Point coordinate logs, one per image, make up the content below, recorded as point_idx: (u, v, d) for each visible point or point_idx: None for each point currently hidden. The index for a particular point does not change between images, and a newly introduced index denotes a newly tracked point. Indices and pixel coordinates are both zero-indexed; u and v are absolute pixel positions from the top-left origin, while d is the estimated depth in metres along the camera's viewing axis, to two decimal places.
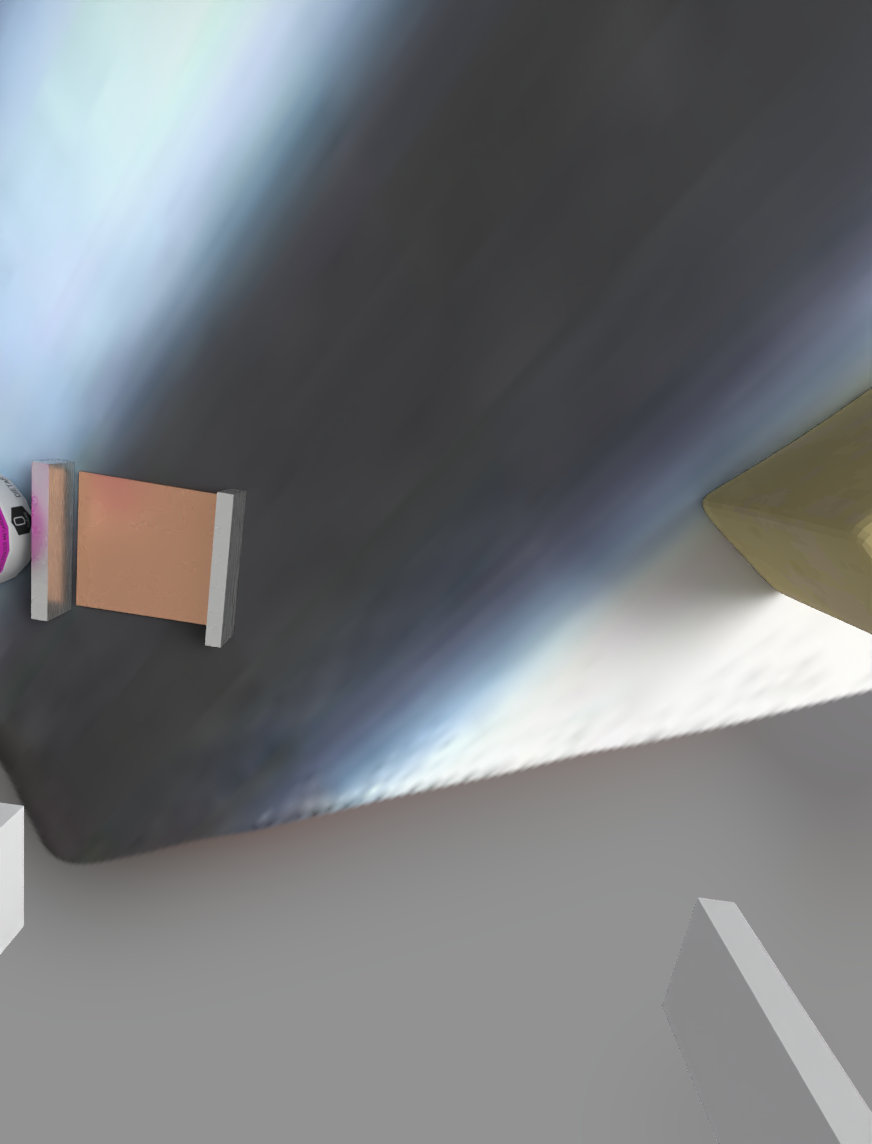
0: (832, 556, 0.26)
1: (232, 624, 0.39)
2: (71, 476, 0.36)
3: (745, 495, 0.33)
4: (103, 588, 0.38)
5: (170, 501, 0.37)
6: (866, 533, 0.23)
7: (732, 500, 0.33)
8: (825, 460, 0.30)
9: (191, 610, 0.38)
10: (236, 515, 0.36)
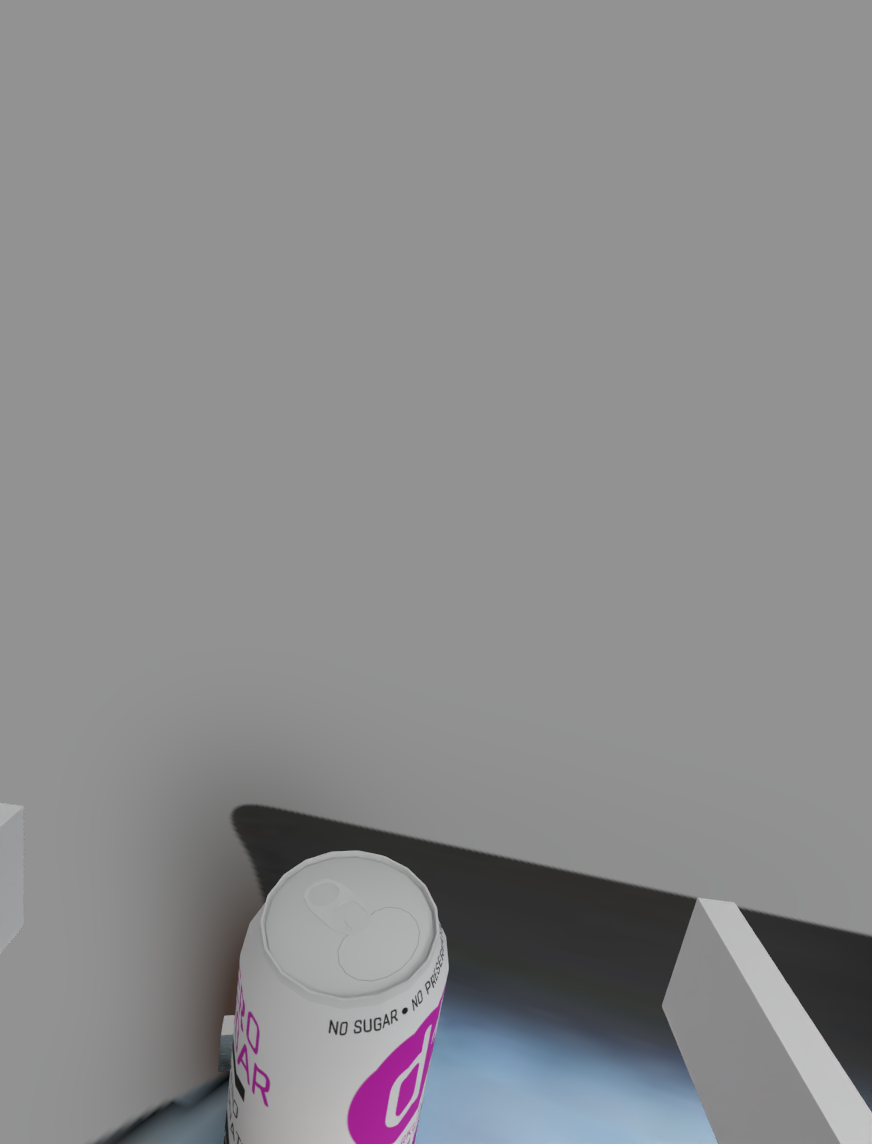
0: None
1: None
2: None
3: None
4: None
5: None
6: None
7: None
8: None
9: None
10: None
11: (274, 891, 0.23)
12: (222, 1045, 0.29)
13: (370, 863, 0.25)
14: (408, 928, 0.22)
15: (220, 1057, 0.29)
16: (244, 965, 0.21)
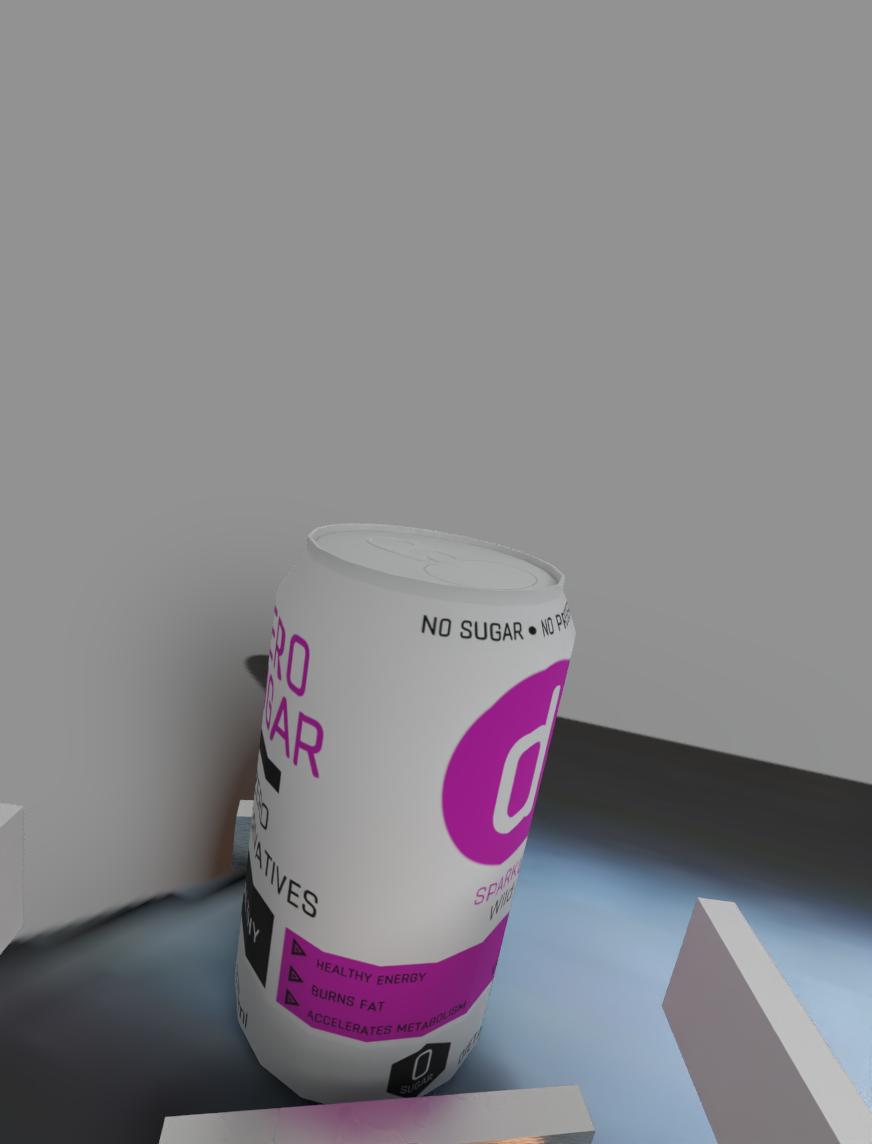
0: None
1: None
2: None
3: None
4: None
5: None
6: None
7: None
8: None
9: None
10: None
11: (324, 530, 0.16)
12: (237, 831, 0.22)
13: (450, 541, 0.19)
14: (520, 573, 0.15)
15: (234, 848, 0.22)
16: (284, 591, 0.14)
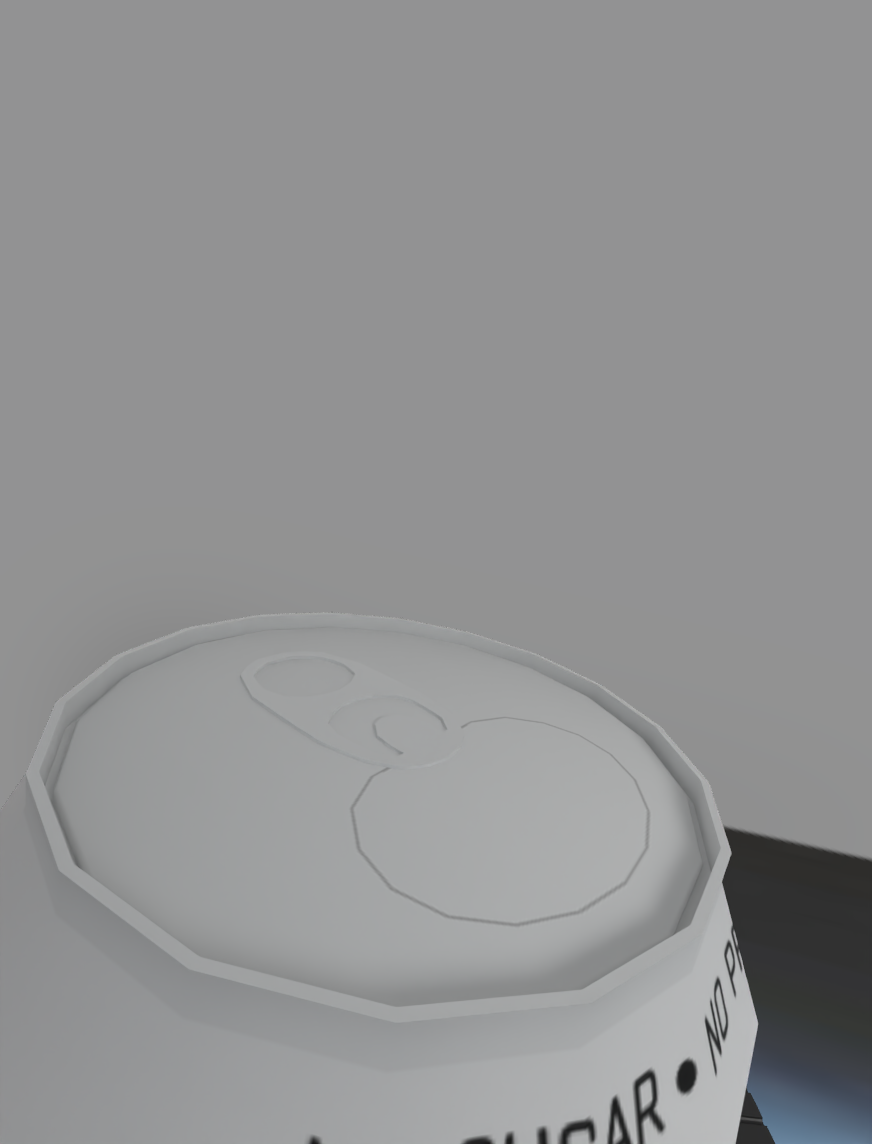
0: None
1: None
2: None
3: None
4: None
5: None
6: None
7: None
8: None
9: None
10: None
11: (146, 654, 0.07)
12: None
13: (434, 644, 0.10)
14: (595, 768, 0.06)
15: None
16: None
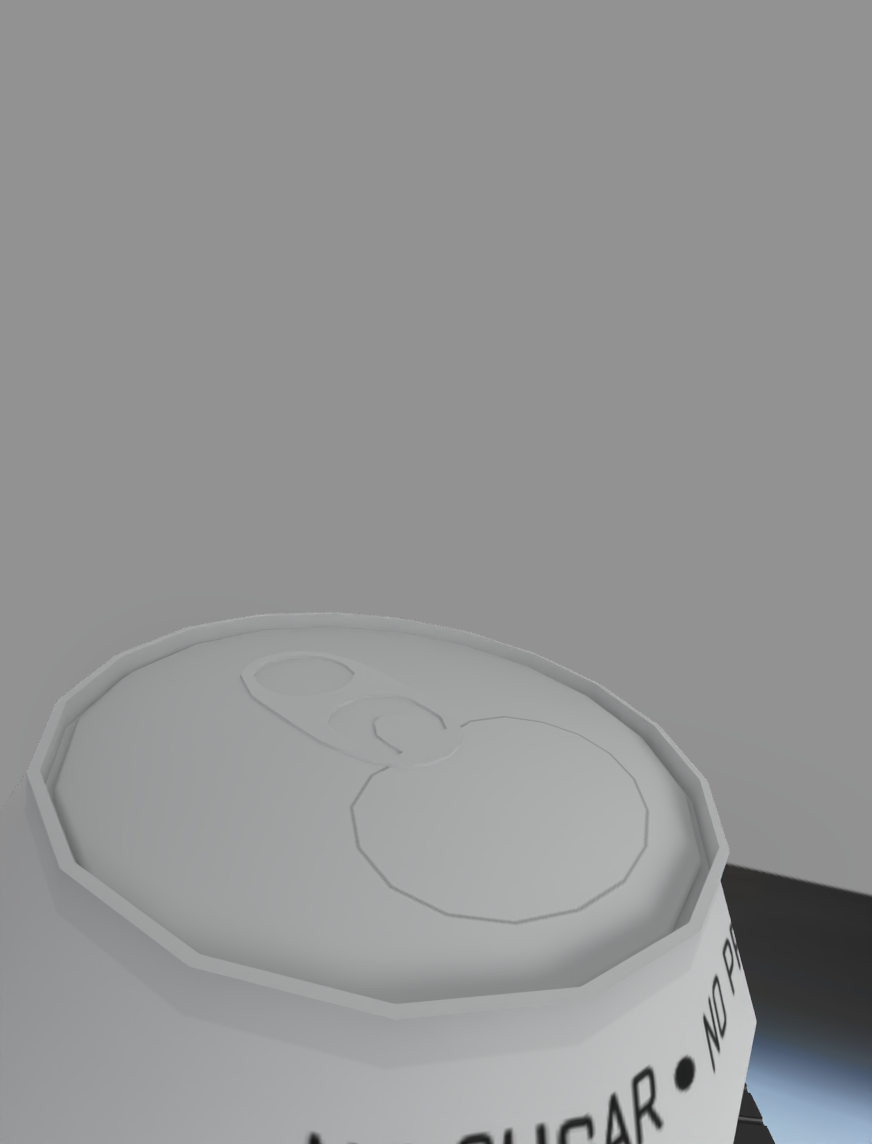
0: None
1: None
2: None
3: None
4: None
5: None
6: None
7: None
8: None
9: None
10: None
11: (146, 653, 0.07)
12: None
13: (434, 643, 0.10)
14: (595, 767, 0.06)
15: None
16: None
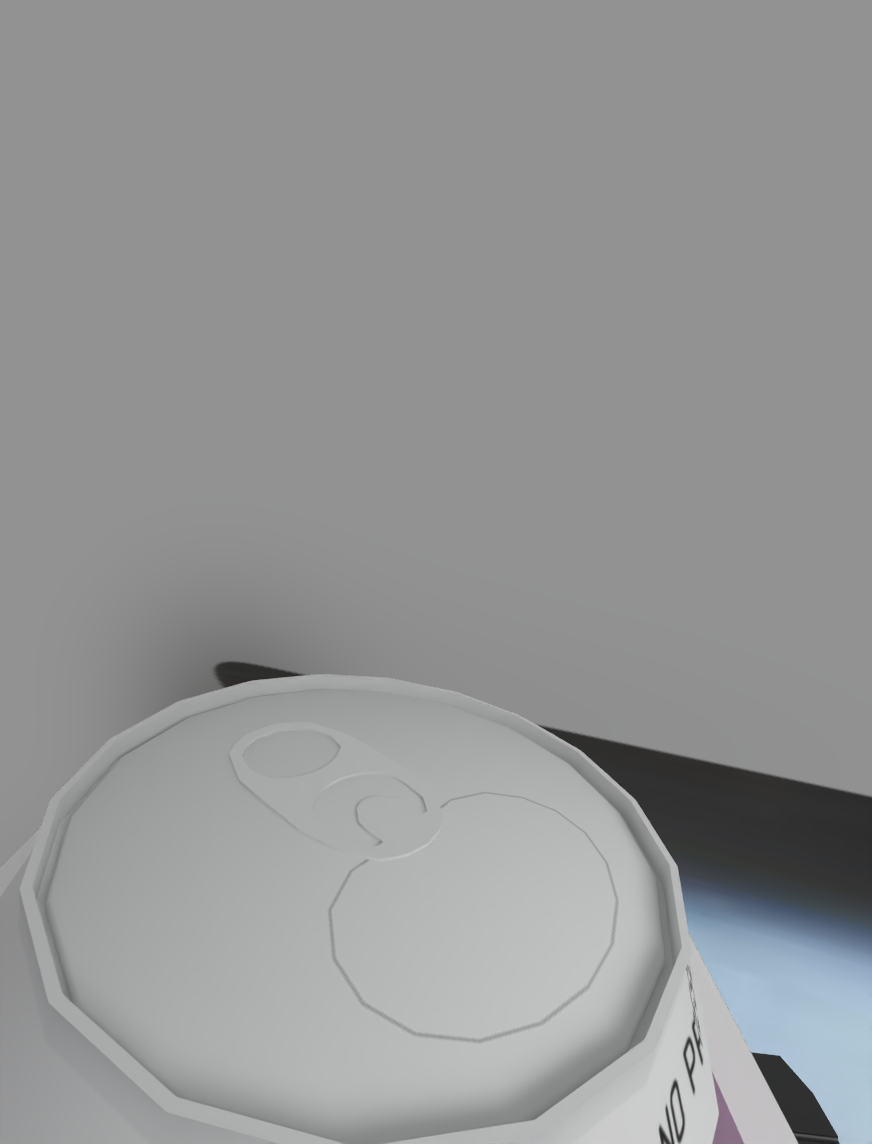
0: None
1: None
2: None
3: None
4: None
5: None
6: None
7: None
8: None
9: None
10: None
11: (138, 734, 0.07)
12: None
13: (421, 704, 0.10)
14: (569, 851, 0.07)
15: None
16: None
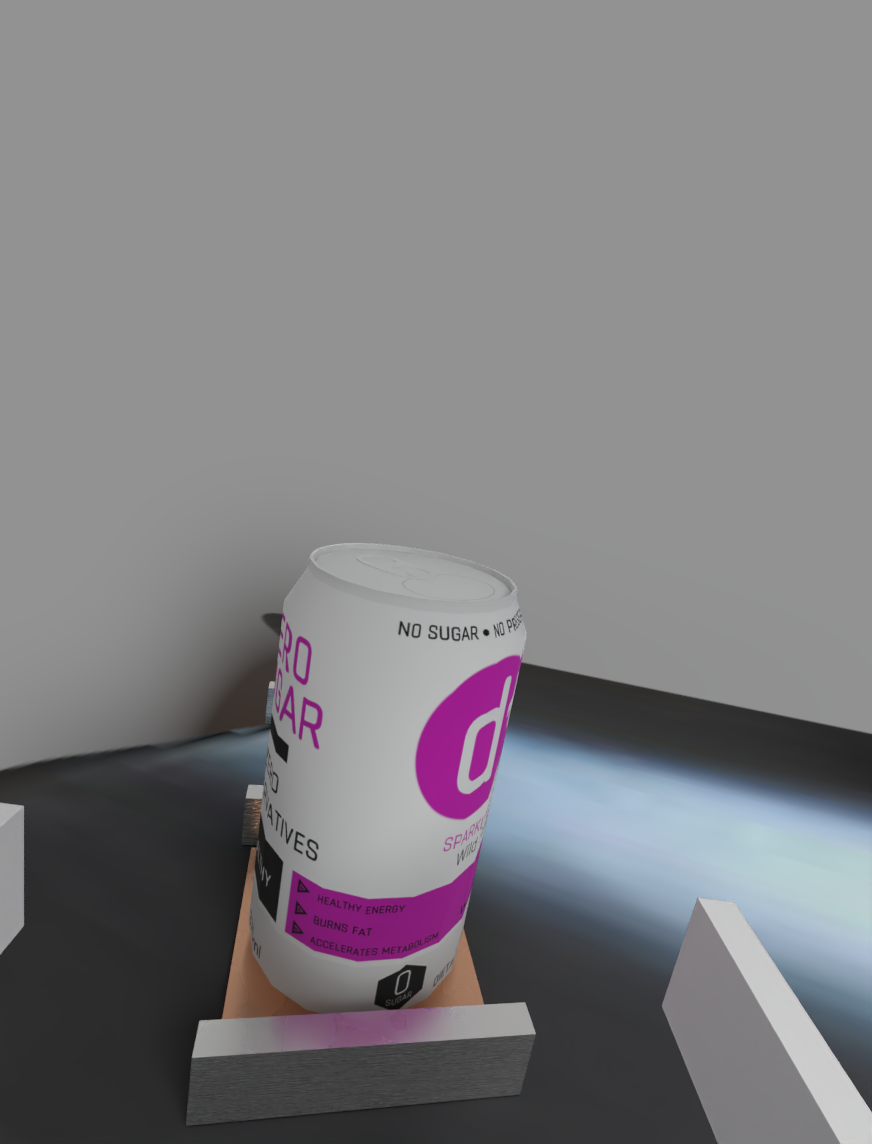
0: None
1: (219, 1112, 0.16)
2: None
3: None
4: None
5: None
6: None
7: None
8: None
9: (250, 1013, 0.19)
10: (489, 1056, 0.17)
11: (322, 550, 0.20)
12: (268, 698, 0.36)
13: (427, 557, 0.22)
14: (481, 585, 0.19)
15: (267, 709, 0.37)
16: (290, 601, 0.18)
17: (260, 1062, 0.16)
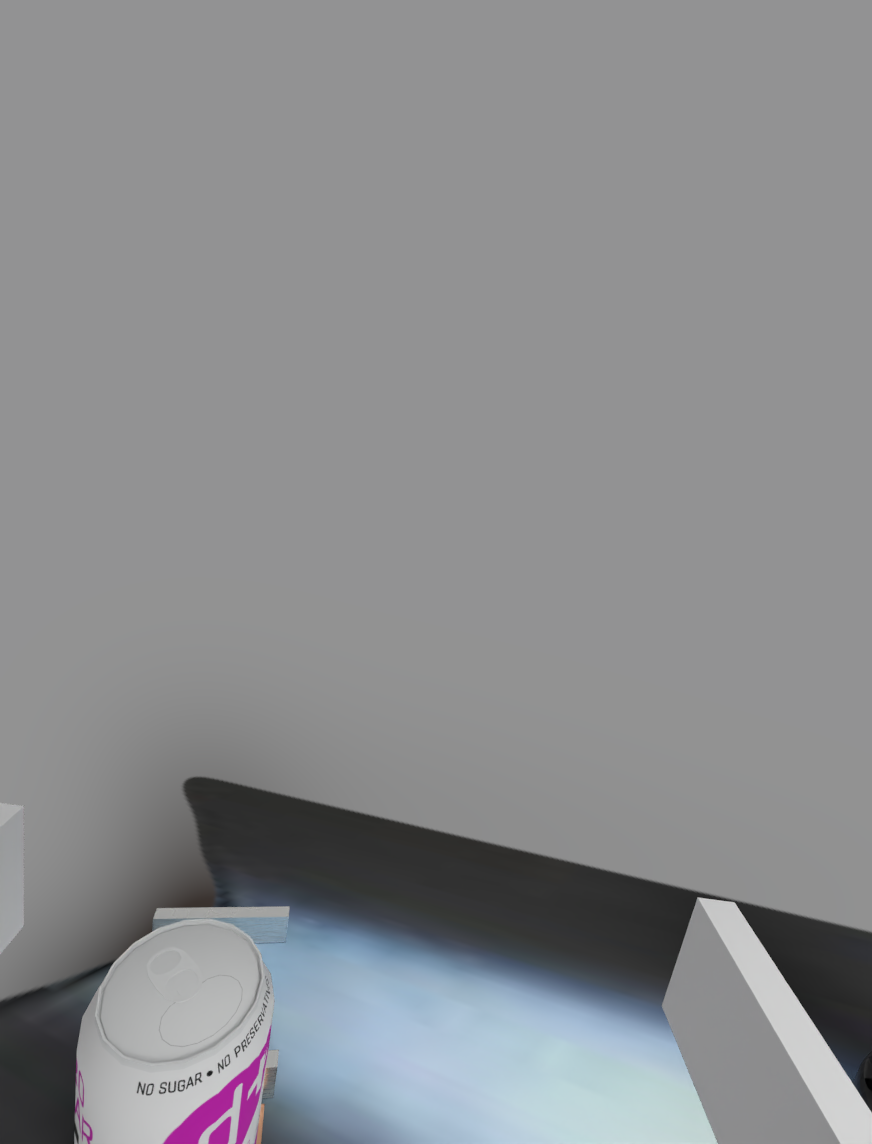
0: None
1: None
2: None
3: None
4: None
5: None
6: None
7: None
8: None
9: None
10: None
11: (121, 959, 0.27)
12: (154, 926, 0.43)
13: (218, 931, 0.29)
14: (232, 996, 0.26)
15: None
16: (82, 1028, 0.25)
17: None
